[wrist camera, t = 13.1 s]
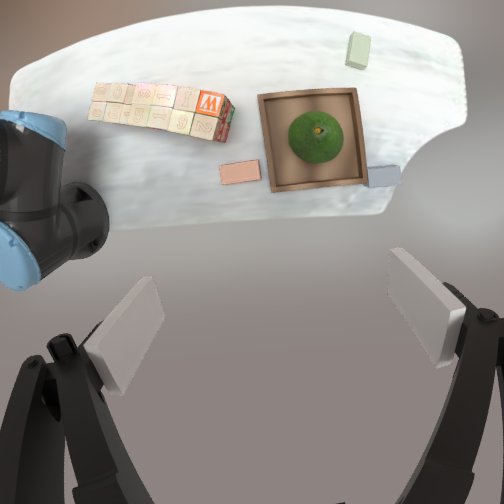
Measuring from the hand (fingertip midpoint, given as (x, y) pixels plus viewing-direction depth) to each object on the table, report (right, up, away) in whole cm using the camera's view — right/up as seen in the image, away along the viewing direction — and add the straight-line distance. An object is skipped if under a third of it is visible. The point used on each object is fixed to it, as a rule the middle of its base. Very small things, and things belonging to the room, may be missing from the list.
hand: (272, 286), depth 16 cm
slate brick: (+21, +15, +31) cm, 40 cm away
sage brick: (+16, +35, +23) cm, 46 cm away
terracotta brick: (-3, +15, +32) cm, 35 cm away
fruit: (+8, +20, +29) cm, 36 cm away
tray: (+9, +20, +29) cm, 36 cm away
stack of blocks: (-15, +25, +29) cm, 41 cm away
